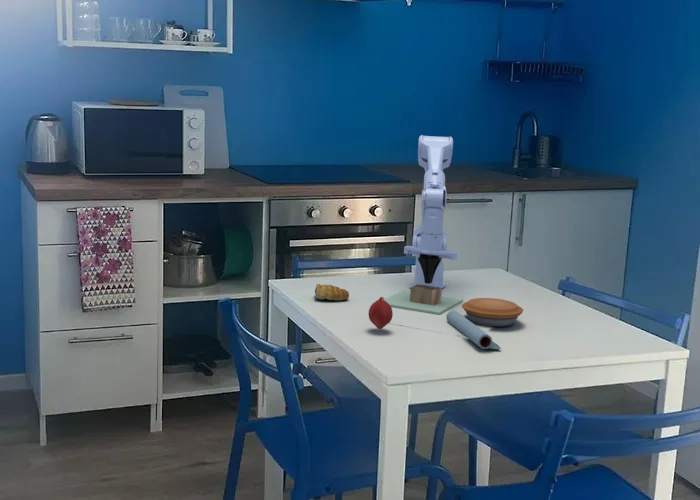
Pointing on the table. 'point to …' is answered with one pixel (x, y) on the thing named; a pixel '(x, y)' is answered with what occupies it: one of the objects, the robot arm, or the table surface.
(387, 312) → the onion
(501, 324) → the pie
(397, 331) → the table surface
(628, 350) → the table surface
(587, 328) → the table surface
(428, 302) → the walnut block
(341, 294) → the pastry
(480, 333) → the aluminum foil
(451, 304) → the sage mat
